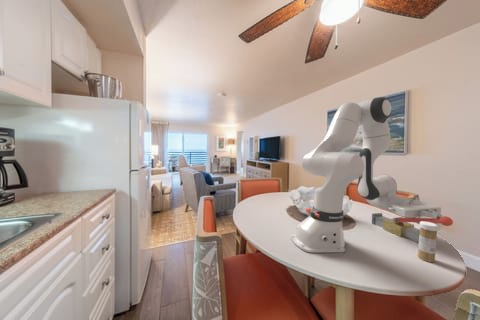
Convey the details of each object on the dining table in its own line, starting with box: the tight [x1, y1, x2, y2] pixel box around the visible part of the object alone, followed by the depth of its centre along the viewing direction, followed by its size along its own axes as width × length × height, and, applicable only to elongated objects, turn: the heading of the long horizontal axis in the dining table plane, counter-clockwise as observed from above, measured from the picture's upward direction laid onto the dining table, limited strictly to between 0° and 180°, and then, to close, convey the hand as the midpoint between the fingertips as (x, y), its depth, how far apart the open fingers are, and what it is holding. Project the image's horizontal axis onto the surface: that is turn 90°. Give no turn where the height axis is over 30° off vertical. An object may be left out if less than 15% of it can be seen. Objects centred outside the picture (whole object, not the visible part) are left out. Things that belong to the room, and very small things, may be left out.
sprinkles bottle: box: [417, 221, 439, 263], centre depth 65 cm, size 5×5×14 cm
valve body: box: [371, 212, 420, 245], centre depth 86 cm, size 8×22×5 cm, turn 13°
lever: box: [392, 215, 454, 227], centre depth 77 cm, size 4×4×21 cm
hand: (439, 216), depth 71 cm, fingers closed, pressing on lever
